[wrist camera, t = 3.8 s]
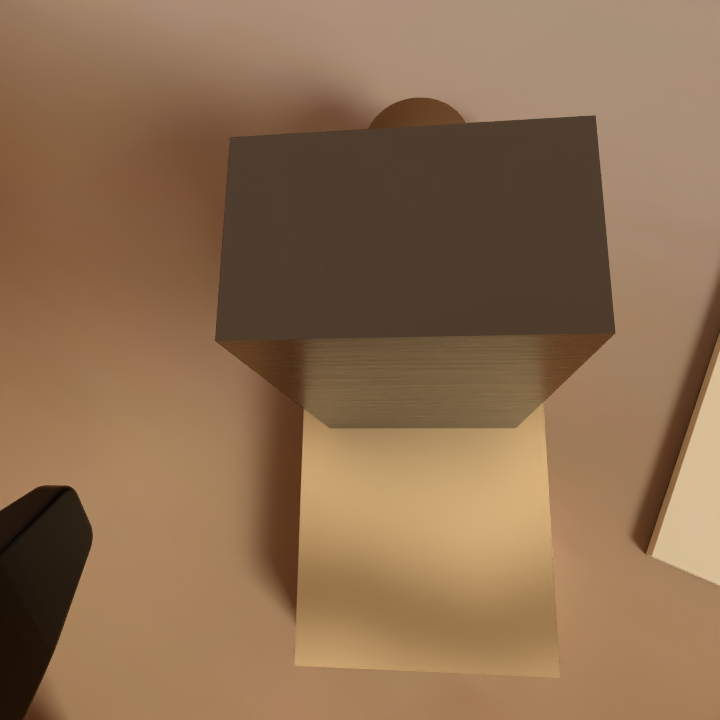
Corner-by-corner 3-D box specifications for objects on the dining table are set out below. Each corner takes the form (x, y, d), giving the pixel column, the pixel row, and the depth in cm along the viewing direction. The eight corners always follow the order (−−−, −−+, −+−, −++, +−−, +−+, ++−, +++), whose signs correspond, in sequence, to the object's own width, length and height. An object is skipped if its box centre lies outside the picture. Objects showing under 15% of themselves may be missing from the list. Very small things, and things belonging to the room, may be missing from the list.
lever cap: (516, 428, 16) (615, 332, 7) (329, 428, 16) (215, 340, 8) (510, 320, 17) (595, 115, 8) (332, 324, 17) (229, 137, 9)
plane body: (541, 653, 17) (580, 705, 12) (313, 643, 18) (273, 689, 13) (516, 172, 20) (538, 79, 16) (327, 182, 21) (298, 96, 17)
